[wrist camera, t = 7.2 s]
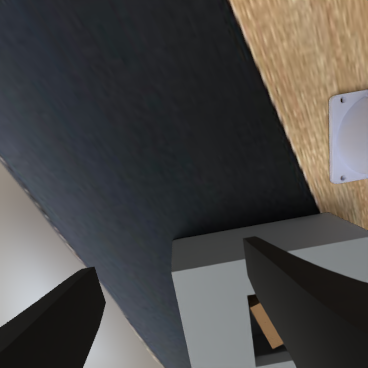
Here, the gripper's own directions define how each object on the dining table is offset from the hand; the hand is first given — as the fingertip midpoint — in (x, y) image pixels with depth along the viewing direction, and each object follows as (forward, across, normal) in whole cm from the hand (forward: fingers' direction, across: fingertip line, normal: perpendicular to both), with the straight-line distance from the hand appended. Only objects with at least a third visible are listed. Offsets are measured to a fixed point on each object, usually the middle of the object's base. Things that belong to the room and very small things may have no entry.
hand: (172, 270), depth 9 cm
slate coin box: (+10, -7, +11) cm, 16 cm away
